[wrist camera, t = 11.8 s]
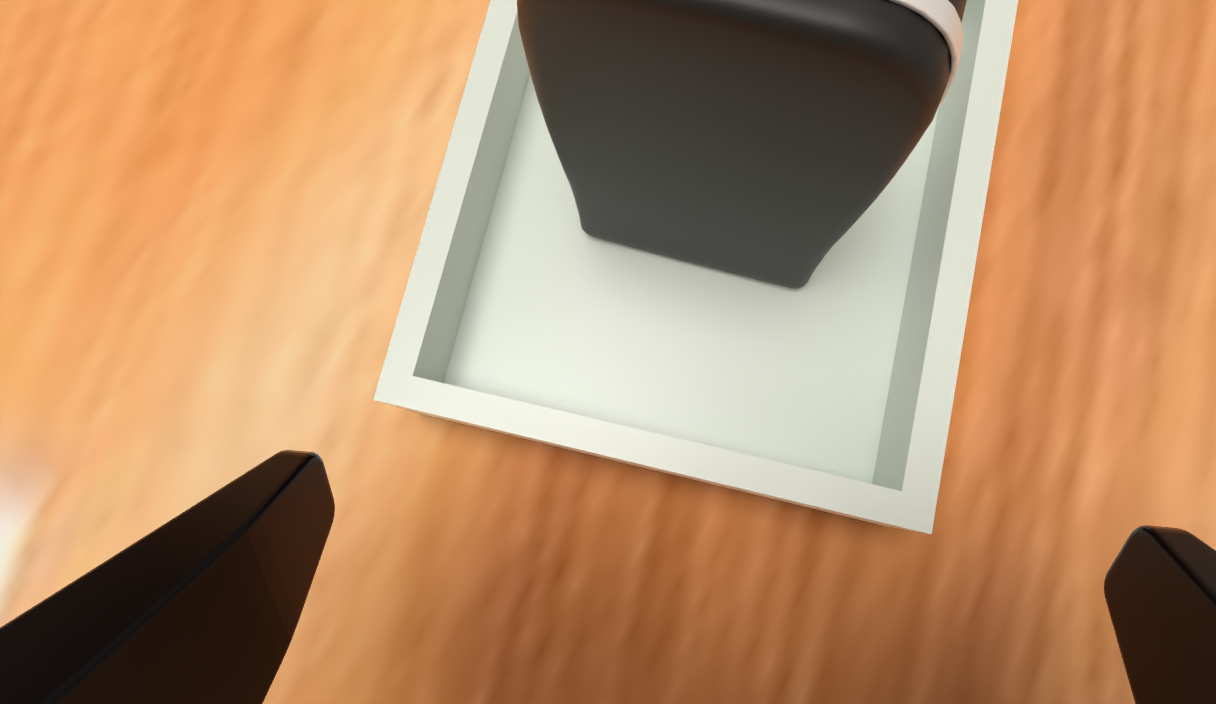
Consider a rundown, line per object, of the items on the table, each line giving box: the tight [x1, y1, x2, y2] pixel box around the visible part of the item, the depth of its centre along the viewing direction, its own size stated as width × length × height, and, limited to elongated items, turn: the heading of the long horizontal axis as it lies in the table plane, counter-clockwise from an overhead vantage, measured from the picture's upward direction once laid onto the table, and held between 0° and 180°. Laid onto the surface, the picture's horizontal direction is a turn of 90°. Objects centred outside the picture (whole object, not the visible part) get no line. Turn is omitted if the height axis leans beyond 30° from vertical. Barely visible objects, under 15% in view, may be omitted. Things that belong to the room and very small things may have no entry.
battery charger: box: [517, 0, 967, 288], centre depth 15 cm, size 7×4×11 cm, turn 74°
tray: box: [373, 0, 1018, 534], centre depth 20 cm, size 16×14×4 cm
